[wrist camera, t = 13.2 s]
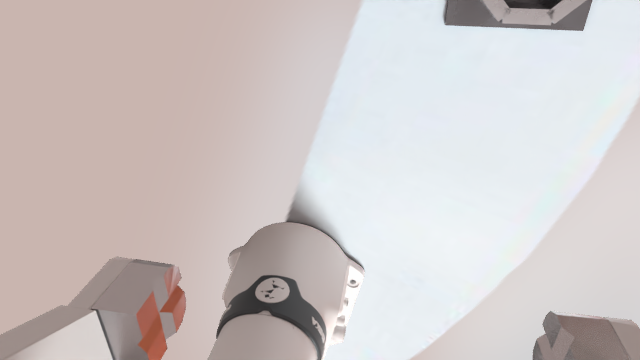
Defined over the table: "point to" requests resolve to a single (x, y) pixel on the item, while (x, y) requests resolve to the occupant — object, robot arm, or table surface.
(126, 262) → the robot arm
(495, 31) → the table surface
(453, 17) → the duct collar
